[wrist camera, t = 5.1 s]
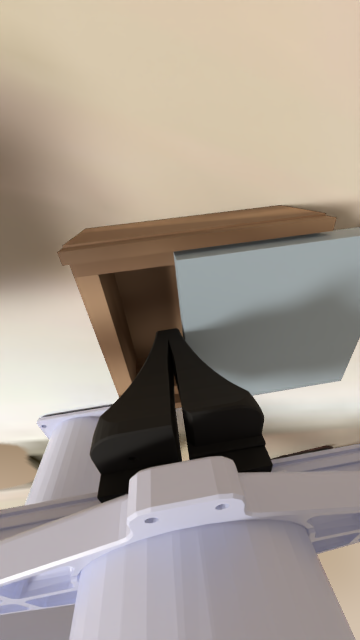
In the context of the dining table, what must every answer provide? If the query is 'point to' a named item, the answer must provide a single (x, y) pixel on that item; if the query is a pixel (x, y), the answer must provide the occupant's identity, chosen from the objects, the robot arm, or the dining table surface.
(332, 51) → the dining table surface
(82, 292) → the wooden box
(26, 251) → the dining table surface
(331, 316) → the cover plate
